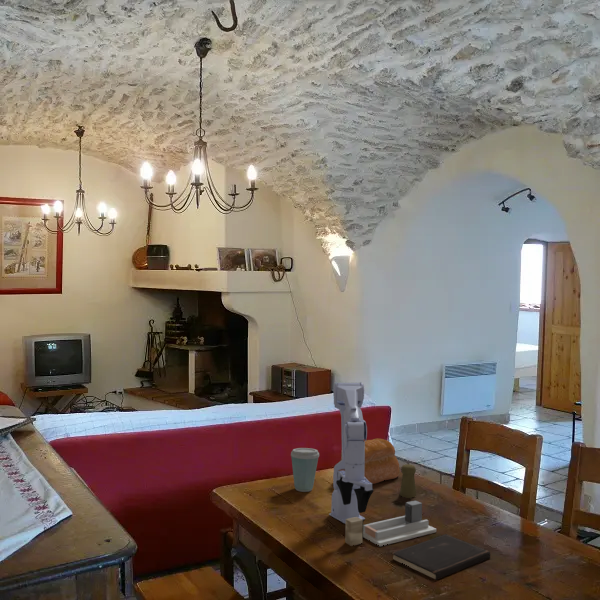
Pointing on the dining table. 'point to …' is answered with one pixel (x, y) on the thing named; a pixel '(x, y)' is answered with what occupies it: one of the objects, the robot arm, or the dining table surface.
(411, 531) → the rail
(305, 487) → the disposable coffee cup
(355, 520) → the block
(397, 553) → the hardcover book
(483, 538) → the dining table surface
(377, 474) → the bread
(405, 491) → the cork
